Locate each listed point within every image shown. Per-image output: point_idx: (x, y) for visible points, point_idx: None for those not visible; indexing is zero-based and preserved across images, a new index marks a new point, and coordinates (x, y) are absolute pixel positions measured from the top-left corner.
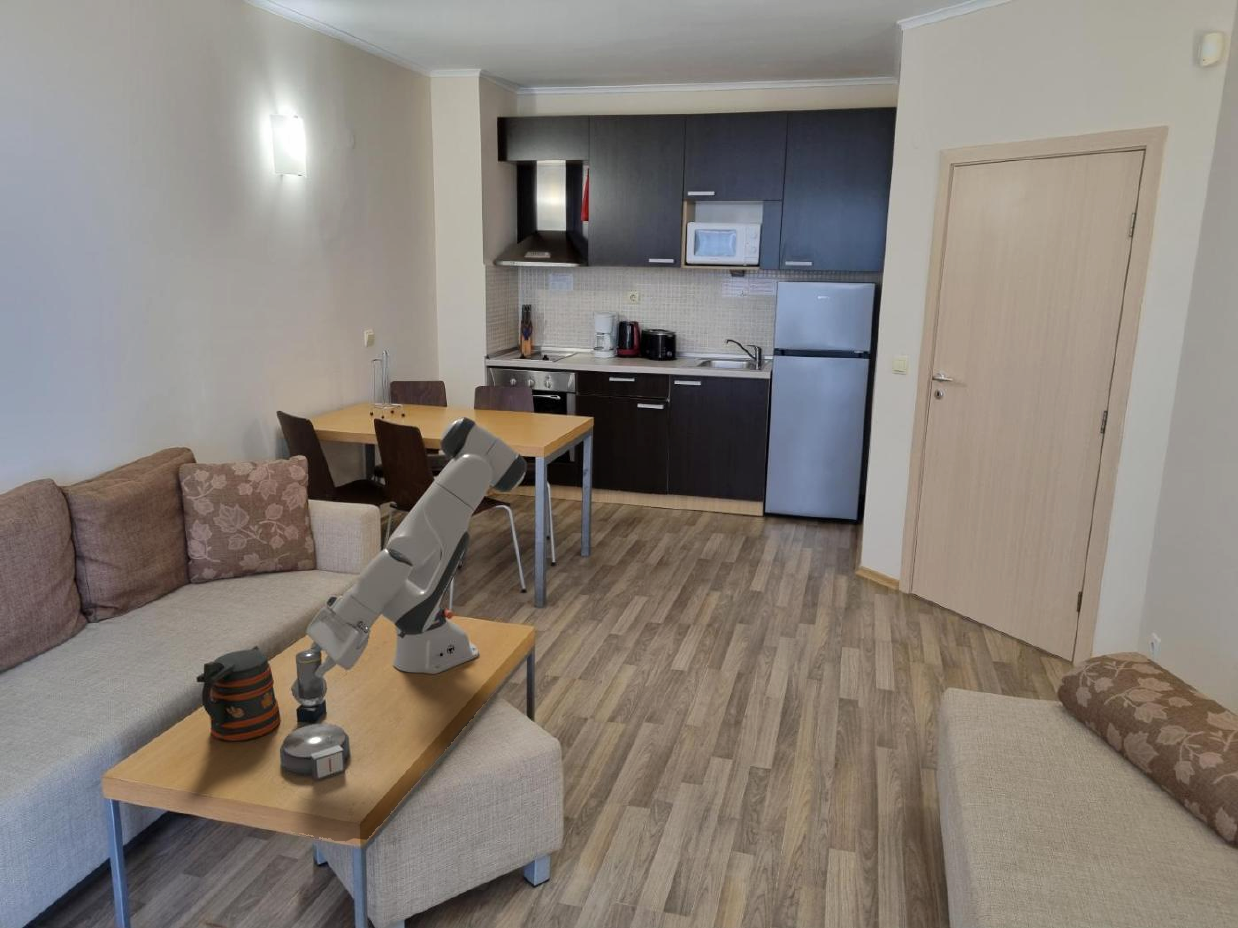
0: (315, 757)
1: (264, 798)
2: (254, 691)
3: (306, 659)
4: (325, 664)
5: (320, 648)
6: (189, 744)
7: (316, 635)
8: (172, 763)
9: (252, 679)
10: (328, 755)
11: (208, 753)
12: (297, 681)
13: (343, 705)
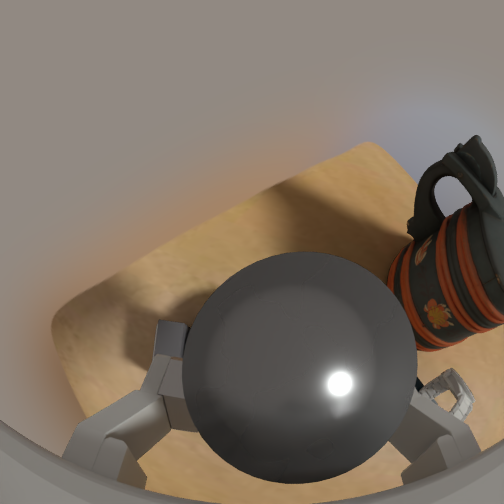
0: (164, 325)
1: (187, 242)
2: (446, 274)
3: (209, 310)
4: (98, 416)
5: (413, 481)
6: (411, 216)
7: (500, 482)
8: (372, 184)
9: (467, 262)
10: (154, 350)
11: (377, 225)
12: (455, 381)
13: (399, 458)
